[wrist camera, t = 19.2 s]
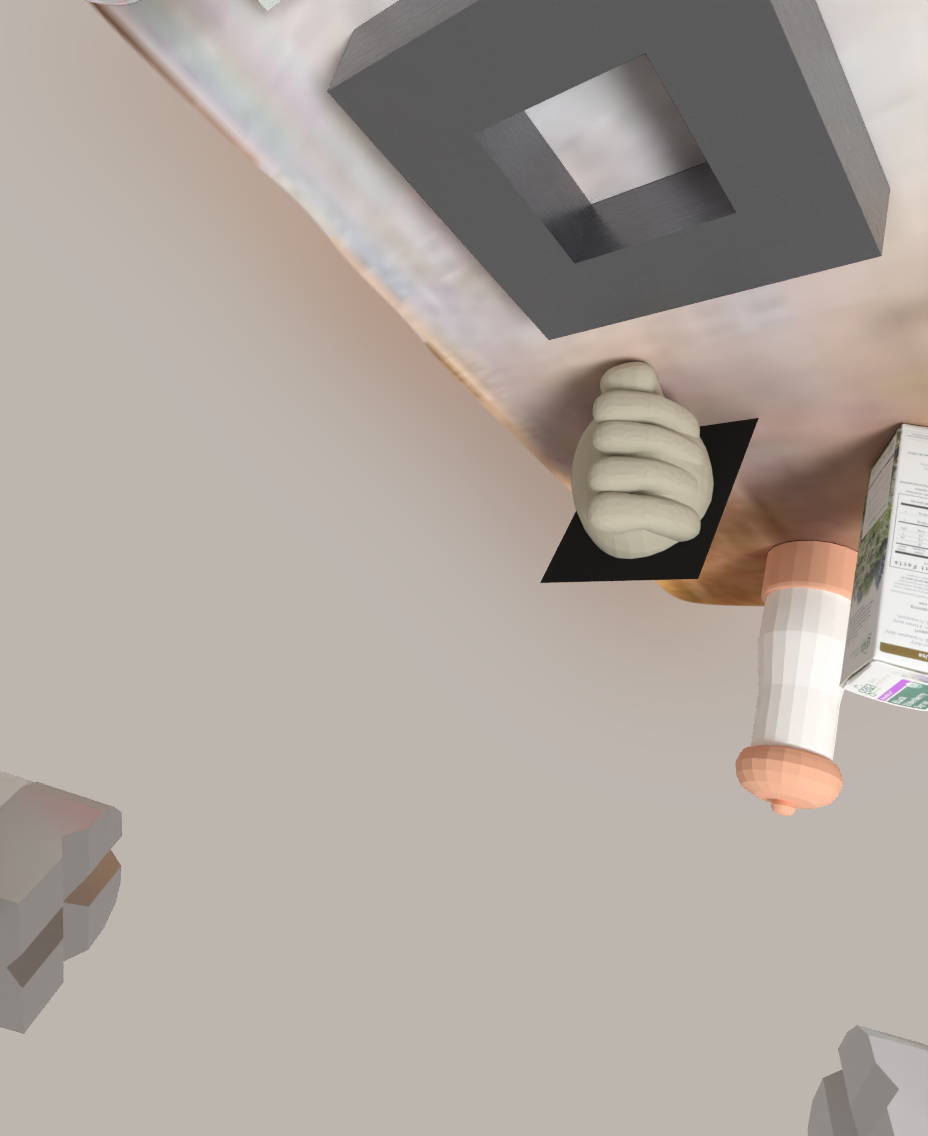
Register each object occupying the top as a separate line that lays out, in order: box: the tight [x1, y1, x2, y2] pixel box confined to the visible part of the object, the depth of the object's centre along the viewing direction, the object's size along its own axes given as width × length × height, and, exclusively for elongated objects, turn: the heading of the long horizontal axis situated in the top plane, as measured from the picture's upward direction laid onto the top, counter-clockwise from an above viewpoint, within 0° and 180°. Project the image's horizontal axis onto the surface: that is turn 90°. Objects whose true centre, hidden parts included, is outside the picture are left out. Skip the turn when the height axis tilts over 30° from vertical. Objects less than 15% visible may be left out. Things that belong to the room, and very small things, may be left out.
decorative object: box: [541, 362, 758, 583], centre depth 51 cm, size 13×10×10 cm
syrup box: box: [839, 424, 928, 711], centre depth 49 cm, size 6×6×14 cm
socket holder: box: [328, 0, 890, 340], centre depth 35 cm, size 16×16×4 cm
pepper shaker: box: [736, 541, 858, 816], centre depth 64 cm, size 7×7×19 cm
